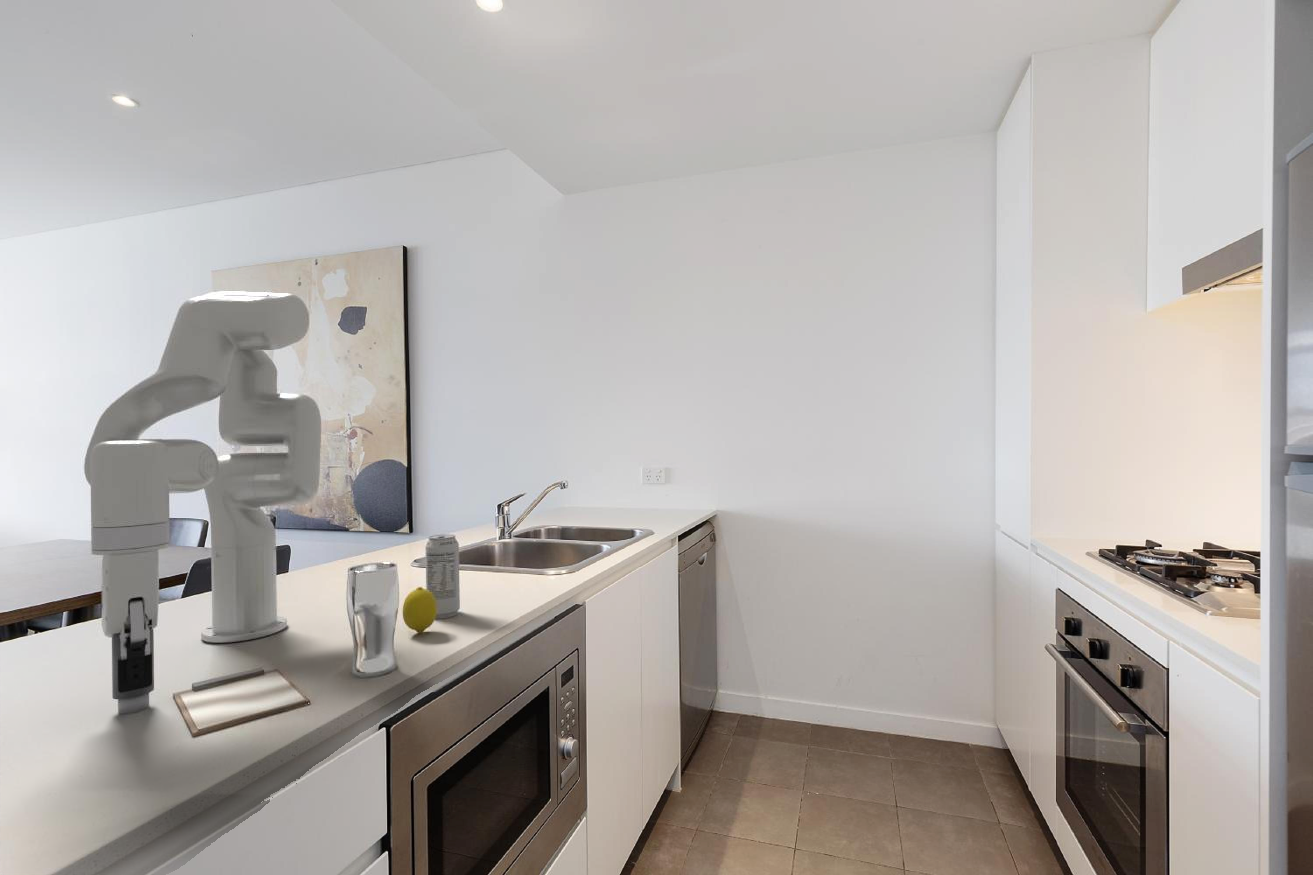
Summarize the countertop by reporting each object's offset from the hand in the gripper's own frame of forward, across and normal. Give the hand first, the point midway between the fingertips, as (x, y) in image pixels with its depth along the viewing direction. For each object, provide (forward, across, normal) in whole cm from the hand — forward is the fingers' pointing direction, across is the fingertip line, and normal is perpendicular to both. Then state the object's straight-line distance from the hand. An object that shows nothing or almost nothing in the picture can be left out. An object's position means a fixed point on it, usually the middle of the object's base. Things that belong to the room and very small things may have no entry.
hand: (133, 682), depth 77 cm
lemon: (+3, -3, +38) cm, 38 cm away
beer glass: (+3, +9, +26) cm, 28 cm away
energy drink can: (+3, -11, +46) cm, 47 cm away
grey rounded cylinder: (+3, 0, 0) cm, 3 cm away
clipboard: (+3, +7, +10) cm, 13 cm away
